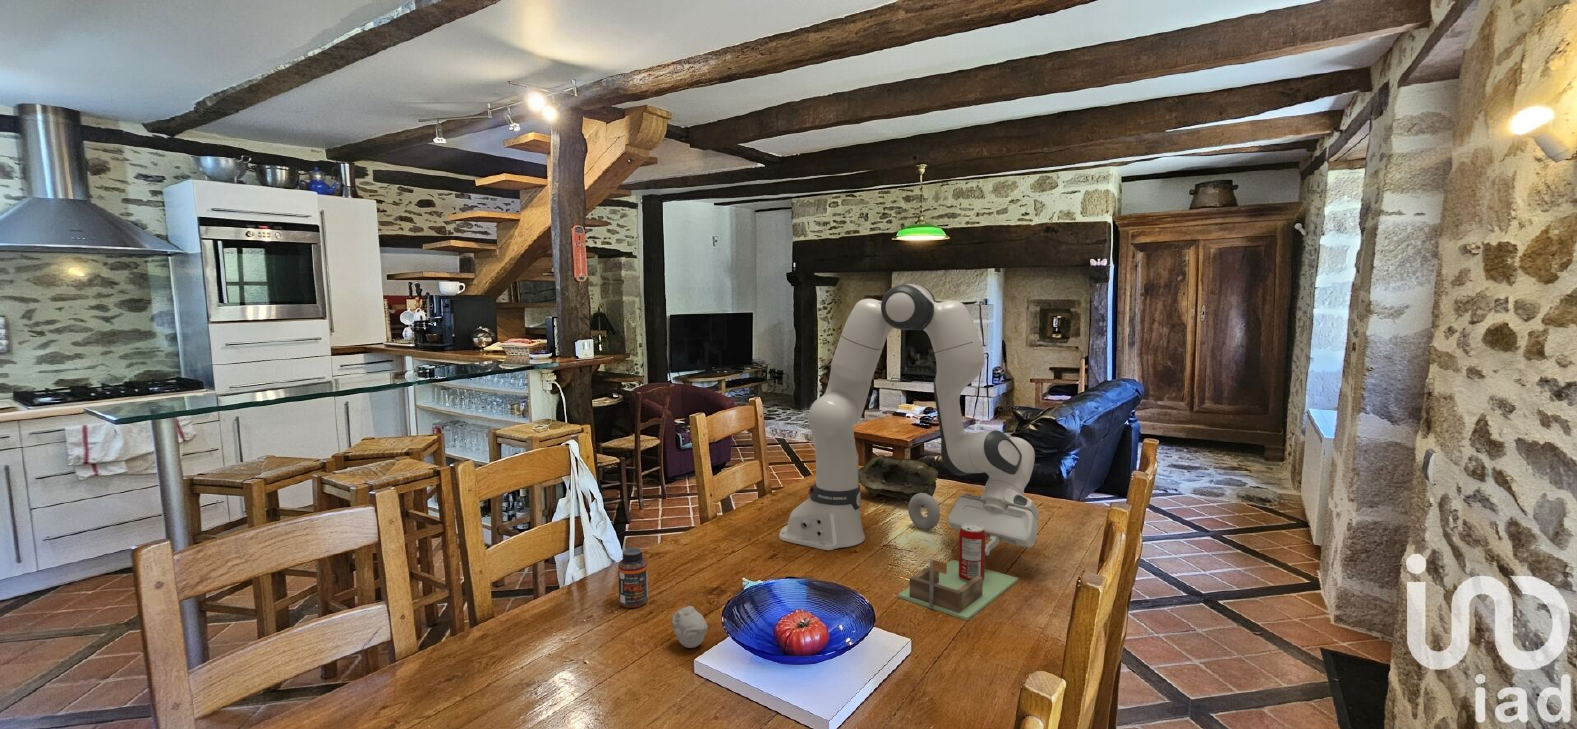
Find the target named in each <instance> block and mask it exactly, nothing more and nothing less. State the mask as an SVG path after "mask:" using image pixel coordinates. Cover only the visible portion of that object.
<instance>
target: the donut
mask: <svg viewBox="0 0 1577 729" xmlns="http://www.w3.org/2000/svg"><path fill="white" fill-rule="evenodd" d="M922 505H923V506H924V507H923V508H925V510H926V512H927V514H926V515H927V516H926V517H925V515H923V514H922V509H921V508H922V507H921V506H922ZM907 509H908V510H907V511H908V516H909V518H910V520H911V522H912V523H913V524H914V525H915V526H916V527H917V528H919V529H920V530H922V531H929V530H932V529H934V528H935V527H937V526H938V523H939V522H940V519H941V509H940V505H939V504H938V502H937V501H936V499H935V498H934V496H930V495H928V494H926V493H918V494H916V495H914V496H913V497H912V498H911V500H910V502H909V503H908V505H907Z"/></svg>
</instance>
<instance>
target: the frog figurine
mask: <svg viewBox="0 0 1577 729" xmlns="http://www.w3.org/2000/svg"><path fill="white" fill-rule="evenodd" d="M671 625H672V628H673V632H674V635H676V637H677V638H676V639H677V641H678V642H679V644H681V645H682V646H683V647H684V648H689V649H694V648H696V647H698V646H700V645H701V644H702V642H703V641H704V640H705V636H706V634H707V633H708V628H709V627H708V624H707V621H706V620H705V618H704V616H703V615H702V614H701V613H700V612H699V611H698V610H696V609H695V607H694V606H692V605H688V606H686V607H682V608H680V609H679V610H677V611H675V613H674V614H673V616H672V621H671Z"/></svg>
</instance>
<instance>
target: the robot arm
mask: <svg viewBox="0 0 1577 729" xmlns="http://www.w3.org/2000/svg"><path fill="white" fill-rule="evenodd" d="M893 329H897V330H901V331H922V330H923V331H924V332H925V333H926V334H927V335H928V338H929V340H930V343H931V346H932V350H933V353H934V357H935V362H936V374H935V377H934V378H933V394H934V395H933V396H934V403H935V407H936V415H937V420H938V427H939V433H940V455H941V460H942V462H943V464H944V467H946V469H948V471H949V472H950V473H952V474H953V475H955V476H959V477H961V476H966V475H972V474H982V473H985V474H986V475H987V476H988V479H987V481H986V484H985V485H984V488H983V491H982V494H981V496H979V495H971V494H969V493H965V494H962V495H960V496H958V497H957V499H956V501H955V503H954V504H955V505H954V506H953V507H952V510H950V513H949V514H948V517H947V521H948V524H949V526H950V527H951V529H952V530H955V531H959V532H960V529H961V525H963V524H968V523H972V524H979V525H981V526H983V527H984V532H985V538H987V539H990V541H988V543H985V557H987V556H990V552H991V551H992V550H993V549H994V548H995V547H997V546H998V545H999V543H1000V542H1004V543H1007V544H1008V543H1009V544H1012V545H1016V546H1020V547H1023V548H1032V546H1033V547H1034V545H1035V543H1036V541H1037V536H1038V533H1039V532H1038V531H1039V525H1038V522H1037V521H1038V520H1039V518H1040V513H1039V511H1038V508H1037V506H1036V504H1035V502H1034V501H1033V500H1032V499H1030V498H1028V497H1026V496H1025V495H1024V492H1025V488H1026V487H1027V485H1028V483H1029V482H1030V479H1031V477H1032V473H1033V470H1034V465H1035V458H1036V453H1035V449H1034V447H1033V446H1032V444H1030V442H1028V441H1027V440H1025V439H1024V438H1021V437H1017V436H1008V435H1007V434H1006V433H1004V432H1003V431H1001V430H995V429H994V430H984V431H979V432H972V433H968V432H966V430H965V429H964V428H965V427H964V423H963V417H962V416H963V414H962V411H961V405H960V397H961V395H962V392H963V391H964V389H965V388H966V387H967V386H968V385H970V384H971V383H972V382H973V381H975V380H976V379H977V378H978V376H979V375H980V374H981V372H982V370H983V368H984V365H985V353H984V349H983V344H982V343H981V340H980V336H979V333H978V330H977V328H976V324H975V323H974V320H973V318H972V317H971V313H970V312H969V311H968V309H967V307H966V305H965V304H964V303H962V302H961V301H957V300H944V301H941V302H937V301H936V299H935V296H934V295H933V293H932V292H931V291H930V290H929V289H928V288H926V287H924V286H923V285H918V284H917V283H905V284H898V285H895V286H893V287H891V288H890V289H889V290H887V291H886V292H885V294H884V295H883V297H882V299H881V300H878V299H876V298H875V299H874V298H864V299H860V300H859V301H857V302H856V303H855V305H854V307H853V308H852V309H851V312H850V313H849V315H848V317H847V319H846V322H845V324H844V327H843V329H842V331H841V335H840V337H839V340H838V342H837V346H836V349H835V350H834V354H833V357H832V360H831V363H830V371H829V372H830V374H829V379H828V383H827V387H826V390H825V392H824V393H823V395H822V396H820V397H818V398H817V399H816V400H815V401H813V402H812V405H811V406H810V408H809V411H808V413H807V425H808V427H809V429H810V430H811V437H812V443H813V447H814V453H815V471H816V472H815V481H813V483H812V484H811V485H810V486H809V488H808V489H807V495H809V498H807V499H806V500H804V501H803V502H802V503H800V504H799V505H798V506H796V507H795V508H794V509H793V510H792V511H791V512H790V515H789V518H788V521H787V524H786V525H785V526H783V527H782V529H781V530H780V531H779V535H778V538H779V540H780V541H784V542H787V543H792V544H796V545H797V544H798V545H801V546H806V547H810V548H815V549H819V550H822V551H823V550H824V551H832V550H835V549H839V548H841V549H842V548H848V547H853V546H856V545H859V544H862V543H863V542H864V541H865V539H866V536H865V532H864V529H863V528H864V527H863V525H862V519H861V518H862V517H861V510H860V508H861V503H862V500H861V499H862V495H861V494H862V492H861V484H860V483H859V482H858V470H859V454H858V451H857V447H856V439H855V432H854V431H855V425H857V424H858V422H860V420H861V418H862V415H863V413H864V409H865V406H866V402H867V401H868V400H867V399H868V396H869V391H870V388H871V384H872V380H873V377H874V374H875V371H876V368H877V366H878V363H879V360H880V358H881V355H882V351H883V349H884V346H885V343H886V341H887V338H888V336H889V334H890V333H891V331H892V330H893Z"/></svg>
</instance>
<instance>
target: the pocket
mask: <svg viewBox="0 0 1577 729" xmlns="http://www.w3.org/2000/svg"><path fill="white" fill-rule="evenodd" d="M947 563H948V562H943V561H940V560H936V559H934V558H933V557H930V558H929V566H927V567H926V568H923V569H922V570H921V571H919V572H918V573H916V574H914V575H913V576H911V577H909V587H910V597H912V598H915V599H918V600H921V601H924V602H927V603H929V606H930V607H933V605H936V606H939V607H942V608H945V609H948V610H951V611H954V612H957V613H960V612H961V611H963V610H964V609H965V608H967V607H968V606H969V605H971V604H972V603H973V602H974V601H976V600H977V599H978V598H980V597H981V596H982V591H983V577H980V576H976V577H975V578H973V579H972V580H970V581H969V582H968V583H966V584H965V585H963V586H962V587H961V588H959V589H958V590H955V589H952V588H948V587H945V586H942V585H939V584H937V583H938V582H939V572H940V573H944V574H947Z"/></svg>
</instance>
